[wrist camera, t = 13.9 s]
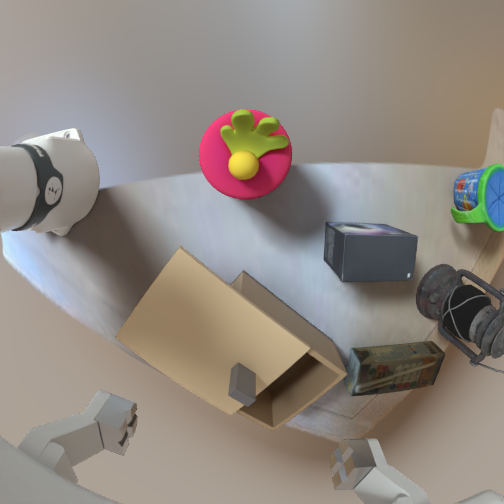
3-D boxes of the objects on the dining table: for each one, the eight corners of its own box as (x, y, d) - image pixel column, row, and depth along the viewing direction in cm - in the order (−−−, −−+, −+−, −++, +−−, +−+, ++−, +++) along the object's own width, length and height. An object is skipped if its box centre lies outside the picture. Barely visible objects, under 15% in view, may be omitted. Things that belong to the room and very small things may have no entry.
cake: (286, 193, 41) (303, 200, 27) (214, 198, 42) (192, 208, 27) (281, 123, 39) (294, 94, 24) (209, 128, 39) (185, 103, 25)
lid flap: (117, 334, 36) (98, 358, 30) (180, 245, 33) (165, 260, 27) (231, 411, 39) (228, 441, 33) (309, 345, 36) (318, 374, 30)
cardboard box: (184, 336, 47) (170, 371, 38) (243, 270, 44) (240, 295, 35) (271, 394, 50) (273, 431, 41) (332, 340, 47) (347, 374, 38)
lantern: (427, 254, 43) (555, 331, 14) (465, 263, 44) (579, 328, 15) (407, 319, 46) (501, 427, 17) (446, 322, 47) (537, 410, 18)
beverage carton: (349, 344, 48) (360, 365, 41) (433, 337, 48) (449, 354, 41) (341, 378, 50) (350, 400, 43) (421, 369, 50) (435, 387, 43)
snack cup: (482, 154, 38) (518, 153, 28) (494, 205, 41) (529, 212, 31) (428, 178, 40) (465, 181, 30) (444, 235, 42) (479, 249, 33)
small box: (387, 221, 42) (420, 234, 32) (383, 261, 44) (414, 282, 34) (325, 219, 42) (345, 232, 32) (322, 261, 44) (341, 285, 34)
